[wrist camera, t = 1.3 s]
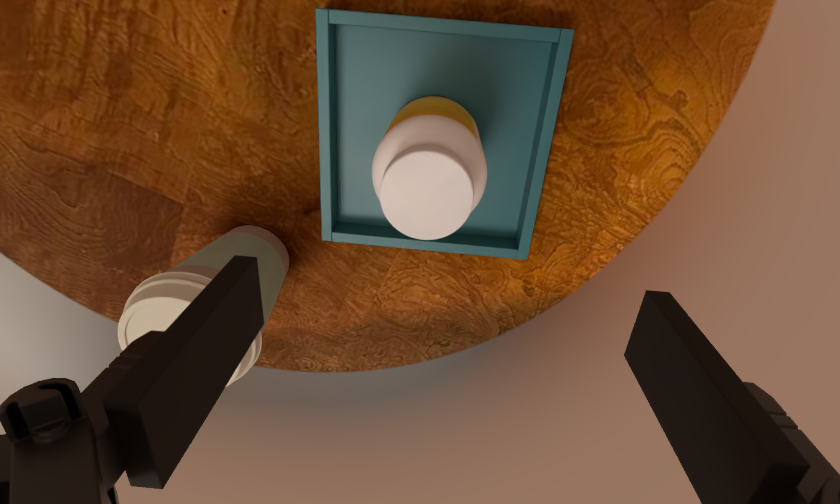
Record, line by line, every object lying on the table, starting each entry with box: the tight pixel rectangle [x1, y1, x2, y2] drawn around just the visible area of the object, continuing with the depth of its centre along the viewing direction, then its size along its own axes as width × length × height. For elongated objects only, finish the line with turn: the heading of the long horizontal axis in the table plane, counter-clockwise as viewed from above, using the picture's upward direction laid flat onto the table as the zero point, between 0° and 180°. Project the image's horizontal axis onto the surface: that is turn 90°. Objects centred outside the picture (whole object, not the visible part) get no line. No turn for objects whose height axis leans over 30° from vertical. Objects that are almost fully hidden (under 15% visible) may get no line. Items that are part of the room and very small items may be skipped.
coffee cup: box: [118, 225, 289, 387], centre depth 33 cm, size 9×8×12 cm
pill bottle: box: [372, 95, 487, 240], centre depth 27 cm, size 6×6×12 cm
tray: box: [315, 8, 575, 260], centre depth 32 cm, size 16×16×2 cm
